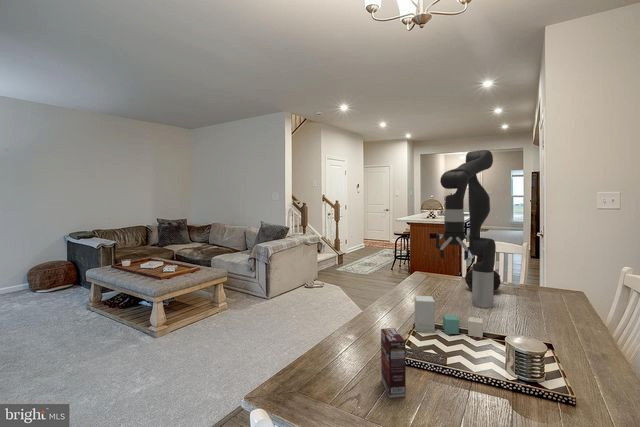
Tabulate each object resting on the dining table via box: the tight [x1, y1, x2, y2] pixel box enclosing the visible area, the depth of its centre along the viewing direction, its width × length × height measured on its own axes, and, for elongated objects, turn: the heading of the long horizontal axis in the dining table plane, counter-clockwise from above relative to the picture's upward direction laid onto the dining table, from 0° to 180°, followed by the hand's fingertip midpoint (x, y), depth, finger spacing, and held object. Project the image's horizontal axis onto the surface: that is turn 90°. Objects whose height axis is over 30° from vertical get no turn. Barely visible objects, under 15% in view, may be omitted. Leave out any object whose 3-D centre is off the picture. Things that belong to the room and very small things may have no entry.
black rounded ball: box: [464, 256, 502, 293], centre depth 183 cm, size 18×18×28 cm
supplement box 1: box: [380, 327, 407, 399], centre depth 92 cm, size 9×5×16 cm, turn 5°
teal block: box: [442, 314, 460, 335], centre depth 130 cm, size 5×5×6 cm
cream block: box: [467, 316, 484, 337], centre depth 127 cm, size 5×5×6 cm
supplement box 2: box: [414, 295, 436, 334], centre depth 133 cm, size 7×7×13 cm
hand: (453, 259), depth 135 cm, fingers open, 8 cm apart
